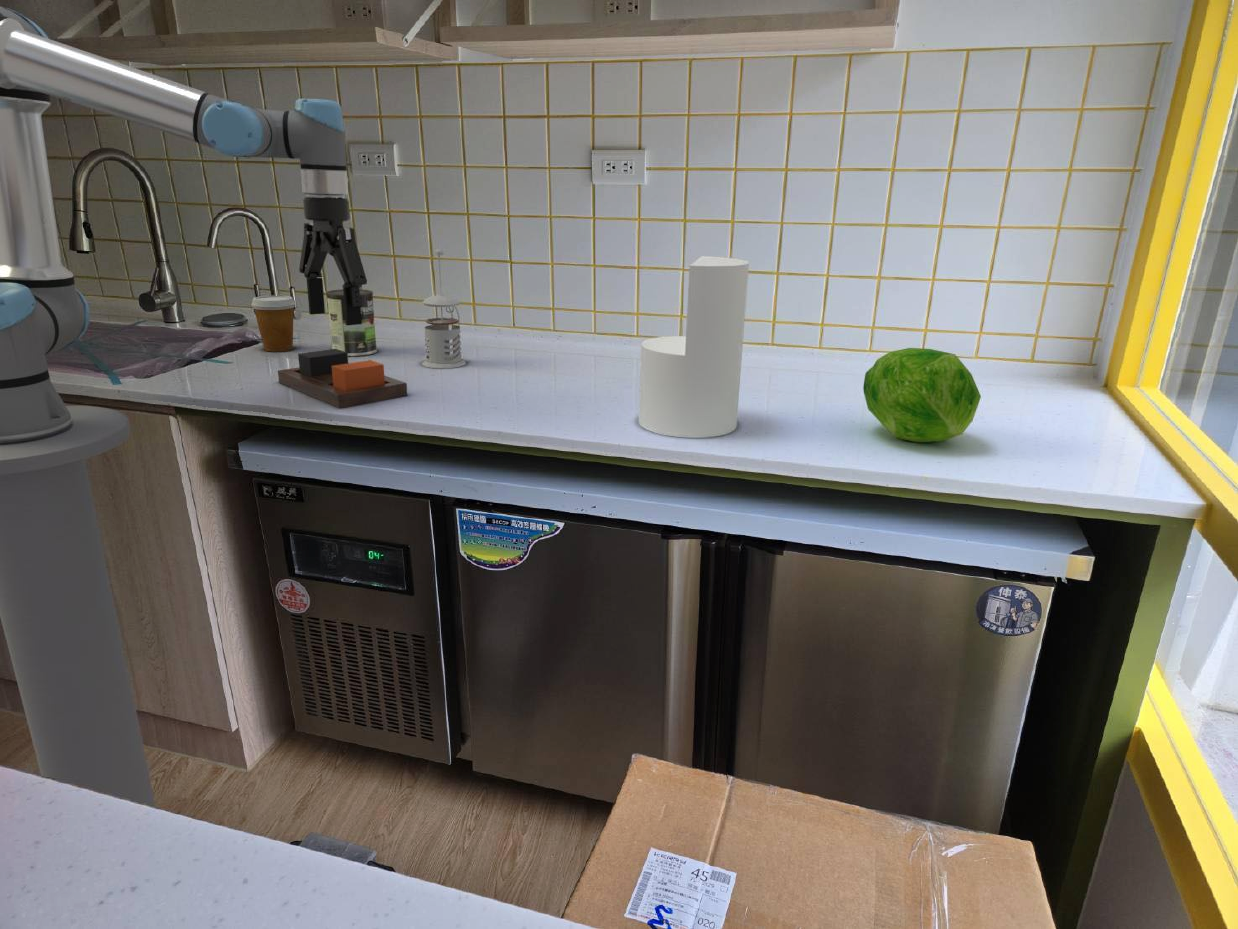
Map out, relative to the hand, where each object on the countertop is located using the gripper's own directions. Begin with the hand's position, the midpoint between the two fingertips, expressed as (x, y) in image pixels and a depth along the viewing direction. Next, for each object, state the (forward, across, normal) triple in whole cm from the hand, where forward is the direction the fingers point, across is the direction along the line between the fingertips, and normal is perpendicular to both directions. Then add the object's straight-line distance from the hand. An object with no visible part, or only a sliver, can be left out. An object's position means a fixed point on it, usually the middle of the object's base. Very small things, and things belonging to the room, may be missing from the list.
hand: (335, 319), depth 149 cm
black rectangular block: (+14, +14, -4) cm, 20 cm away
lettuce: (+14, -85, -60) cm, 105 cm away
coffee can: (+15, +36, -23) cm, 46 cm away
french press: (+15, +14, -33) cm, 38 cm away
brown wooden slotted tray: (+15, +7, -4) cm, 17 cm away
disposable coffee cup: (+16, +51, -11) cm, 54 cm away
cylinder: (+14, -54, -38) cm, 67 cm away
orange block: (+14, 0, -4) cm, 14 cm away
